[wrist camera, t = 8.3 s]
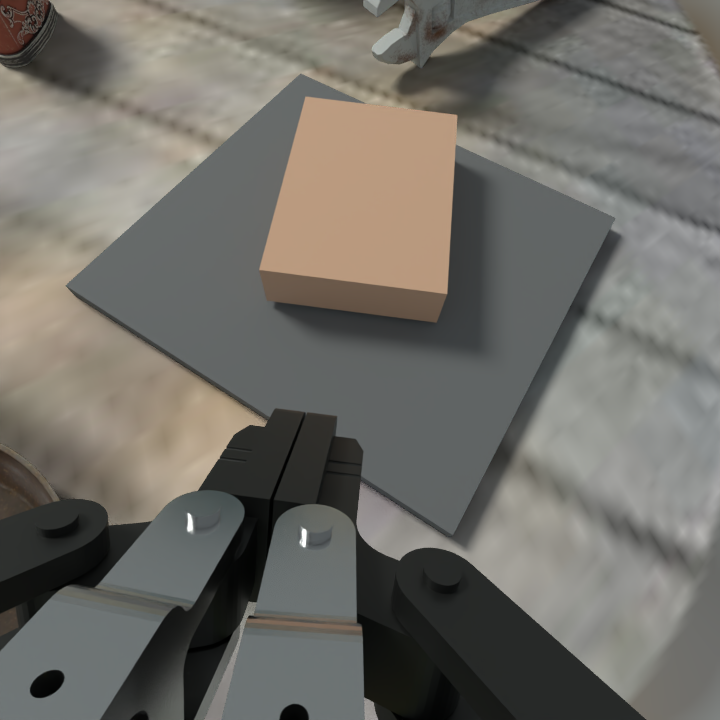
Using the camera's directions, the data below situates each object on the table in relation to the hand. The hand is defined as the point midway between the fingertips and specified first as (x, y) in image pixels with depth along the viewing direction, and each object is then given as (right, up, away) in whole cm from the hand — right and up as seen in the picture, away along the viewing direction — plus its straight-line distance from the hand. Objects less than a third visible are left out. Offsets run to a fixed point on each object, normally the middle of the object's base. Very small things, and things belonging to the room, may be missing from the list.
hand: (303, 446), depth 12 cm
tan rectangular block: (+1, +6, +15) cm, 16 cm away
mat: (+1, +9, +20) cm, 21 cm away
